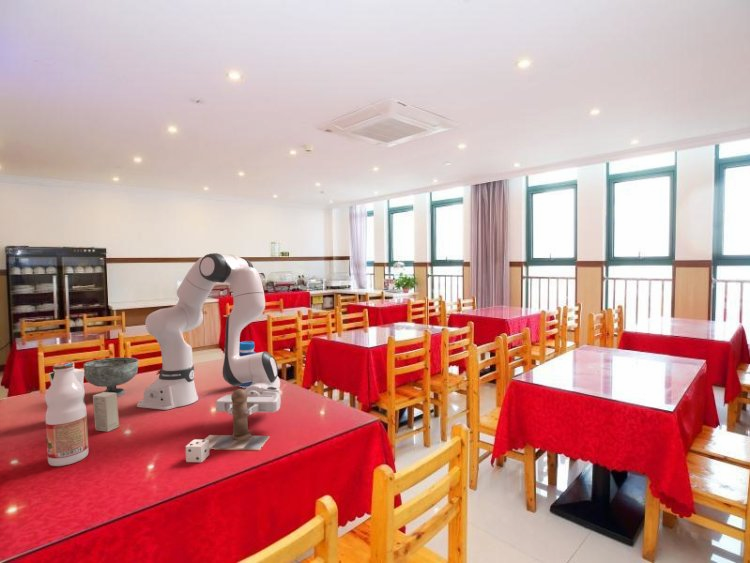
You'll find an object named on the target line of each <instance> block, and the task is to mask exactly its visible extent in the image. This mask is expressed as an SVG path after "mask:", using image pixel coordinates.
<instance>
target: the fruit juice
mask: <svg viewBox="0 0 750 563" xmlns="http://www.w3.org/2000/svg"><path fill="white" fill-rule="evenodd" d="M75 366H76V365H75V362H74V361H64V362H58V363H55V364H53V365H52V372H53V371H54V372H55V374H54V378H53V381H52V384H51V383H50V386H49V387H48V388H47V390H46V392H45V395H44V401H45V403H46V406H47V408H46V412H45V430H46V432H45V433H46V448H47V449H46V450H47V453H46V454H47V462H48V465H50V466H51V467H62V466H68V465H71V464H75V463H78V462H80V461H82V460H83V459H85V458H86V457H87V456H88V454H89V450H90V449H89V433H88V432H89V430H88V415H87V414H88V413H87V411H88V410H87V406H86V403H84V402H85V401H84V402H83V399H84V400H85V394H86V391H85V386H84V387H83V385H82V384H81V383H80V382H79V381H78V380H77V378H76V376H75V374H74V371H73V369H75Z"/></svg>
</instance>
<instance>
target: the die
mask: <svg viewBox="0 0 750 563" xmlns="http://www.w3.org/2000/svg"><path fill="white" fill-rule="evenodd" d="M209 456H210V449H209V440H204V439H199V438H198V439H193V440H191V441H190V442H189V443H188V444H187V445H185V461H186V463H203V462H204V461H205V460H206V458H208V457H209Z"/></svg>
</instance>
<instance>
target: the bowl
mask: <svg viewBox="0 0 750 563" xmlns="http://www.w3.org/2000/svg"><path fill="white" fill-rule="evenodd" d="M139 361H140V360H139V359H138V358H135V357H125V356H124V357H109V358H101V359H97V360H91V361H90V360H89V361H87V362H85V363H83V370H84V379H85V380H86V382H88V383H89V384H91V385H93V386H94V387H95V386H96V387H102V388H103V387H105V388H106V389H105V390H103V391H101V392H100V393H102V392H113V393H117V396H119V397H120V395H121V396H123V395H124V394H125V393H126V390H125V389H124V388H120V387H119V388H118V387H117V386H121V385H124V384H127V383H128V382H129V381H131V380H132V379H134V378H135V376H137V373H138V368H139ZM122 394H123V395H122Z"/></svg>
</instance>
